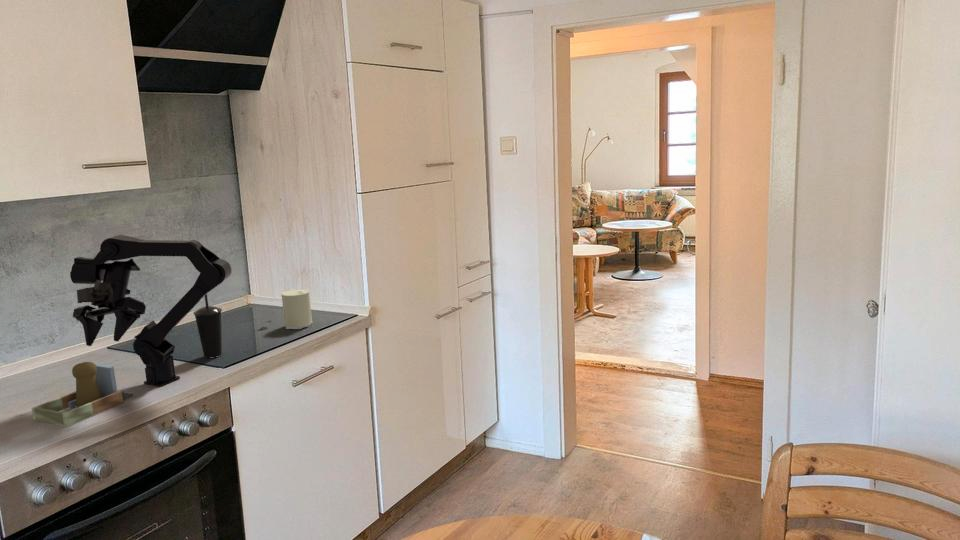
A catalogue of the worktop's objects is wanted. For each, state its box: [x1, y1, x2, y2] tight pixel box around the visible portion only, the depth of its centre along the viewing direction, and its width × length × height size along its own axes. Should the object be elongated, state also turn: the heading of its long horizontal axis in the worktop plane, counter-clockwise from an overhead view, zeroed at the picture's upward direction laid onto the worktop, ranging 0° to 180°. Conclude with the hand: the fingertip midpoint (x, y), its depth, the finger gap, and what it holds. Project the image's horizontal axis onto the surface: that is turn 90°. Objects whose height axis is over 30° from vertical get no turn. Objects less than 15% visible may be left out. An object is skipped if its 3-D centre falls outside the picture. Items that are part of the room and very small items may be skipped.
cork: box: [71, 361, 102, 408], centre depth 167 cm, size 6×6×11 cm
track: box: [31, 390, 124, 427], centre depth 165 cm, size 15×11×3 cm
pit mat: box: [122, 391, 135, 401], centre depth 175 cm, size 4×8×1 cm, turn 66°
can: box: [280, 288, 313, 327], centre depth 232 cm, size 9×9×12 cm
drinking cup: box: [193, 293, 223, 359], centre depth 202 cm, size 8×8×20 cm
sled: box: [68, 363, 118, 409], centre depth 168 cm, size 7×8×9 cm
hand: (102, 343), depth 170 cm, fingers open, 9 cm apart
